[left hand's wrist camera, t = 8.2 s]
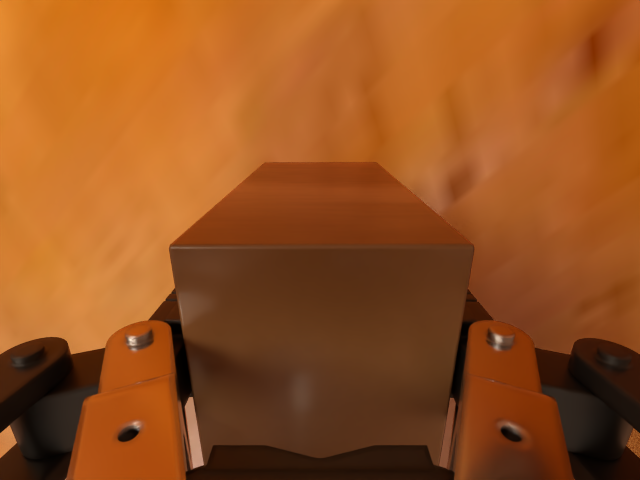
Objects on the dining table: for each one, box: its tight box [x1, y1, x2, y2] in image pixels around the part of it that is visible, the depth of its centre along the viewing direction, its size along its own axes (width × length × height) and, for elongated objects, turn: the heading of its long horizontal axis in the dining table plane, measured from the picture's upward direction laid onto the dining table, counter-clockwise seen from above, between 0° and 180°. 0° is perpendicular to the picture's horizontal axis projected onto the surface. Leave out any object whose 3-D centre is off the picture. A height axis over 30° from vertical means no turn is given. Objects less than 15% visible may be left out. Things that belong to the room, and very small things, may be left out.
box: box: [169, 162, 474, 466], centre depth 17 cm, size 25×6×12 cm, turn 0°
